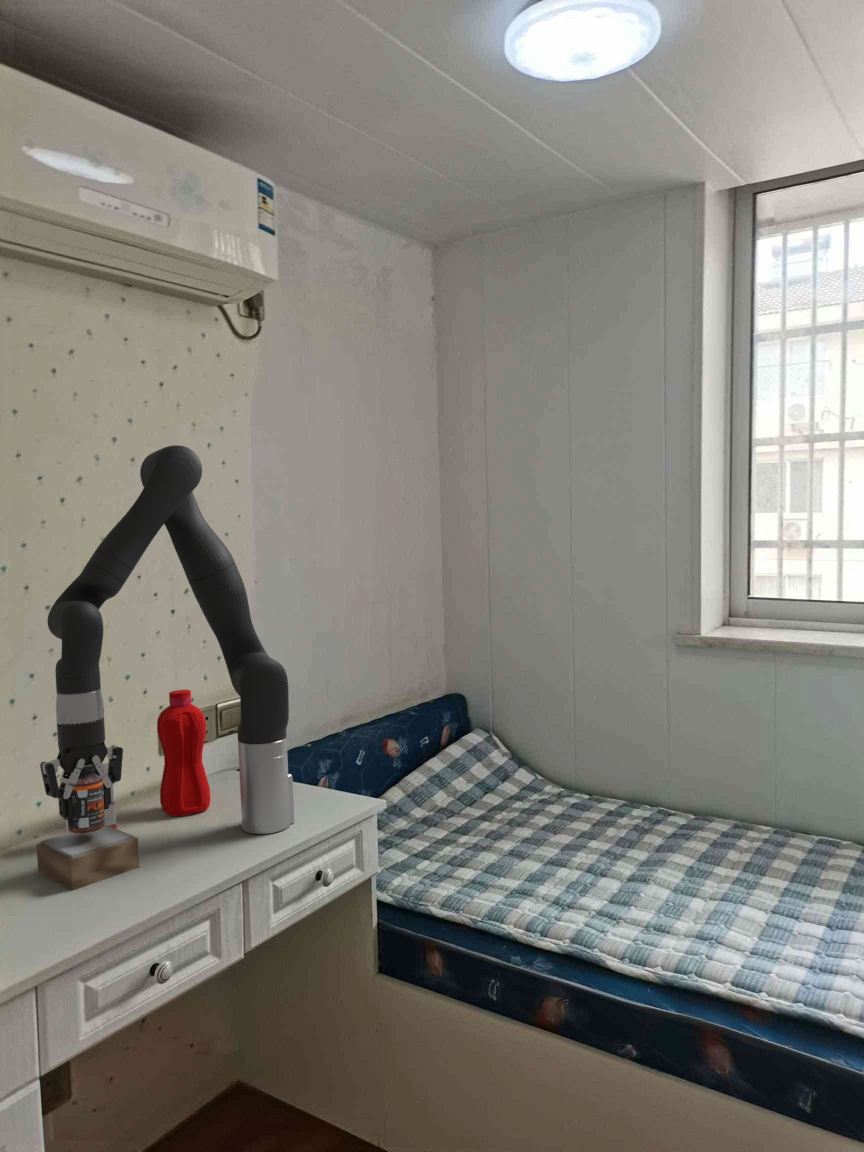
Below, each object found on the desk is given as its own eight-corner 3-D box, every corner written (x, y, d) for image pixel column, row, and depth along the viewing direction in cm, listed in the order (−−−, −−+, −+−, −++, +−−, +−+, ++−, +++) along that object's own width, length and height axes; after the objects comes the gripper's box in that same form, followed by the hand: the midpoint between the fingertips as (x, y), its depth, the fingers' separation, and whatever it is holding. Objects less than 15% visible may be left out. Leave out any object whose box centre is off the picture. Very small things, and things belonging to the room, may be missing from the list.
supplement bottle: (92, 835, 147) (88, 768, 147) (60, 834, 149) (57, 768, 148) (112, 823, 153) (108, 759, 153) (81, 822, 154) (78, 758, 154)
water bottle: (199, 797, 190) (193, 683, 189) (214, 811, 181) (208, 690, 179) (155, 806, 185) (149, 688, 184) (169, 820, 176) (162, 696, 174)
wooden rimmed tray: (103, 851, 160) (102, 821, 159) (139, 866, 152) (137, 835, 152) (38, 872, 151) (36, 841, 150) (72, 890, 143) (70, 857, 142)
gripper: (108, 706, 158) (113, 799, 159) (28, 722, 147) (34, 821, 148) (130, 711, 153) (135, 806, 154) (49, 728, 142) (55, 830, 143)
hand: (85, 813), depth 151 cm, fingers closed on supplement bottle, 6 cm apart
